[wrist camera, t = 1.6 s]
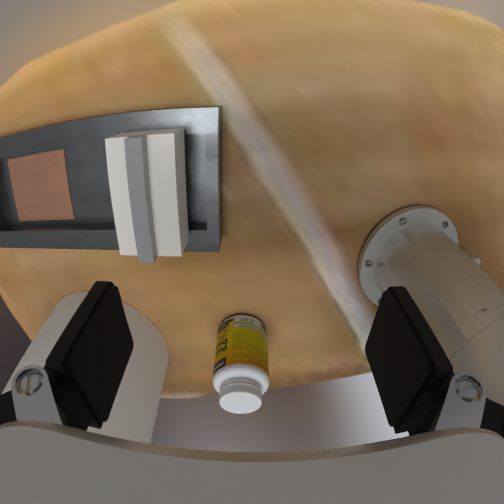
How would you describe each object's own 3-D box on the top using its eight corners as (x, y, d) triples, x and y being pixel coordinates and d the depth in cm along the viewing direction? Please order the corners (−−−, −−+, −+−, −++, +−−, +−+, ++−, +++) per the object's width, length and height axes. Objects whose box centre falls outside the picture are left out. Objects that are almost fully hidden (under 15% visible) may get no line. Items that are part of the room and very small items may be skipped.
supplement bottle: (223, 307, 33) (216, 382, 24) (272, 318, 34) (279, 392, 25) (213, 341, 36) (205, 412, 27) (258, 350, 36) (260, 420, 27)
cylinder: (70, 265, 30) (-57, 480, 6) (193, 341, 36) (161, 576, 11) (45, 341, 37) (-26, 493, 12) (139, 396, 42) (105, 556, 18)
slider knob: (187, 126, 22) (170, 135, 17) (191, 229, 27) (179, 263, 22) (129, 130, 22) (98, 141, 17) (138, 229, 26) (116, 261, 21)
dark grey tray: (221, 106, 23) (218, 107, 20) (222, 236, 29) (219, 252, 26) (-6, 139, 22) (-23, 145, 20) (13, 235, 28) (-1, 247, 26)
